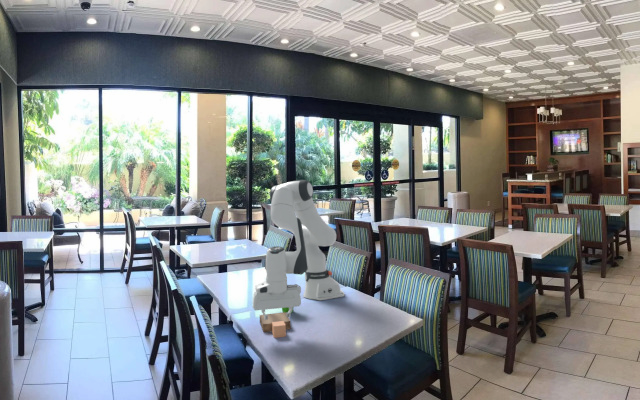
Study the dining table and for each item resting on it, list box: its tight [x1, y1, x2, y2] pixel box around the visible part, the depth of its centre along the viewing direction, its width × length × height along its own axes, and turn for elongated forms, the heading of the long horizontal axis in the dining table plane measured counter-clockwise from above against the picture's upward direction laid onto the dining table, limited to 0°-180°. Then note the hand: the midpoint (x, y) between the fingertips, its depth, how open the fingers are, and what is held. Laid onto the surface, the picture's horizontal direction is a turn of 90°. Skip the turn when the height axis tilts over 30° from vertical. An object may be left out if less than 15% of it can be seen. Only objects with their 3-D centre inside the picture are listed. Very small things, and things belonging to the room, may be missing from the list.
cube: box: [271, 321, 287, 339], centre depth 181 cm, size 5×5×5 cm
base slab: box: [259, 311, 292, 333], centre depth 192 cm, size 12×12×4 cm
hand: (277, 318), depth 180 cm, fingers open, 8 cm apart
